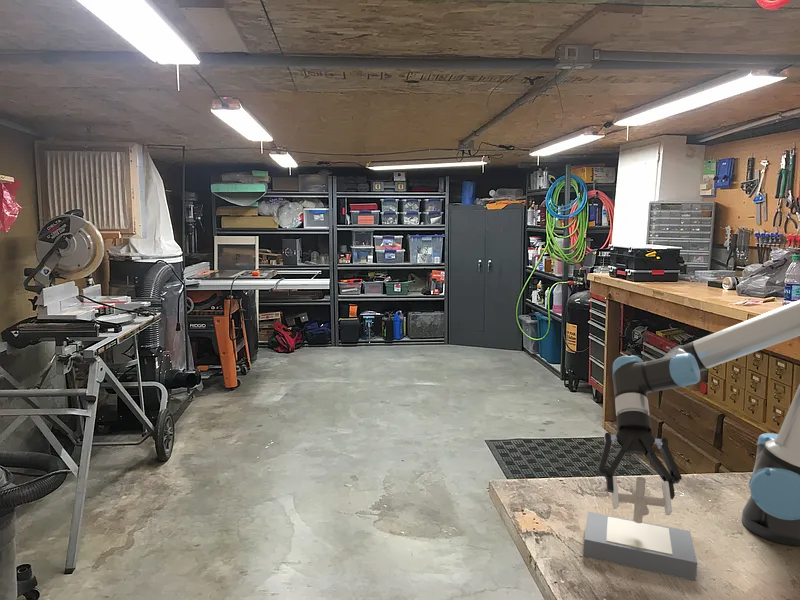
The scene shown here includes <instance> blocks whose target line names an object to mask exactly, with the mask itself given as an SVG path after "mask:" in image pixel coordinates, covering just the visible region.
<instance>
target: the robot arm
mask: <svg viewBox="0 0 800 600" xmlns="http://www.w3.org/2000/svg"><path fill="white" fill-rule="evenodd" d="M798 337H800V299H798V300H795V301H793V302H791V303H788V304H785V305H782V306H781V307H778V308H777V307H776V308H775V309H772V310H769V311H767V312H765V313H762V314H760V315H757V316H755V317H752V318H750V319H747V320H743V321H742V322H739V323H737V324H734V325H731V326H729V327H726V328H724V329H721V330H718V331H716V332H714V333H711V334H708V335H706V336H703V337H701V338H699V339H695V340H693V341H691V342H688V343H686V344H684V345H683V344H682V345H677V346H675V347H673V348H671V349H670V350H669V351H668V352H667V353H666V354H665V355H664V356H663V357H660V358H657V359H651V360H648V361H643V359H642V358H641V357H639V356H636V355H630V356H629V355H622V356H619V357H617V358H616V359H615V360H614V361H613V363H612V375H611V376H612V383H613V392H614V404H615V405H614V407H615V415H616V418H615V419H616V430H617V431H616V434H611V433H610V432H605V433H604V436H603V444H604V445H603V451H602V454H601V457H600V461H599V465H598V469H597V475H598V476H602V477H604V478H605V480H606V481H605V482H606V492H607V493H611V495H612V496H611V498H612V510H618V508H619V507H620V502H619V501H618V493H619V490H618V489H619V488H618V477H617V475H614V474H615V473H616V471H617V468H618V467H619V466H620V464H621V462H622V460H623V459H624V457H625V456H626V454H628V455H638V456H644V458H645V459H646V460H648V461H649V463H650V464H651V466H652V467H653V469H654V470H655V471H656V473H657V474H658V476H659V477H660V478H661V480H662V481H663V482H662V484H661V489H662V490H661V491H662V498H664V500H665V506H664V507H663V508H664V514H665V516H670V515H671V514H672V513H673V508H672V507H673V506H672V500H673V499H674V498H675V496H676V494H675V486H674V484H679V483H680V482H681V480H682V478H683V477H682V475H681V472H680V470H679V468H678V466H677V463H676V462H675V459H674V457H673V454H672V453H671V450H670V448H669V440H668V438H667V437H662V438H655V436H654V435H653V431H652V430H653V429H652V422H651V417H650V408H649V397H648V393H655V392H658V391H665V390H672V389H675V388H676V389H677V388H681V387H683V388H685V387H688V386H692V385H695V384H698V383H699V382H700V381H701V372H702V371H706V370H708V369H710V368H714V367H716V366H719V365H722V364H725V363H727V362H730V361H734V360H735V359H739V358H741V357H744V356H747V355H750V354H753V353H755V352H758V351H761V350H764V349H766V348H770V347H773V346H776V345H778V344H781V343H783V342H787V341H789V340H792V339H795V338H798ZM757 438H758V439H757V442H756V446H757V448H756V454H755V455H756V457H755V461H754V466H753V471H752V474H751V477H750V478H749V483H748V484H749V486H748V487H749V489H750V497H749V498H748V500H747V502H746V503H745V505H744V507H743V509H742V512H741V522H742V524H743V526H744V527H746V528H747V529H748V530H749V531H751V532H752V533H753V534H756V535H757V536H759V537H762V538H764V539H766V540H769V541H772V542H775V543H779V544H783V545H786V546H787V545H788V546H796V547H800V383H799V384H798V387H797V389H796V392H795V394H794V397H793V399H792V401H791V403H790V406H789V408H788V410H787V412H786V416H785V418H784V420H783V422H782V424H781V427H780V429H779V432H778V433H770V432H768V433H762V434H759V436H758V437H757ZM615 441H616V442H617V443H618V445H619V446H620V449H619V452H618V453H617V456H615V458H614V460H613V461H612V463H611V465H610V467H609V469H606V466H607V462H608V457H609V454H610V450H611V446H612V445H613V444H614V442H615ZM653 445H656V447H657V449H658V450H659V451H660V455H661V457H662V459H663V461H664V463H665V465H664V464H663V462H662V461H661V459H660V458H659V457H658V455H657V453H656V452H655V449H654V448H653Z"/></svg>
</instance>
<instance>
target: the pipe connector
mask: <svg viewBox="0 0 800 600" xmlns="http://www.w3.org/2000/svg"><path fill="white" fill-rule="evenodd" d="M635 482H636V483H635V485H633V486H631V487H630V493H631V494H629V493H621V492H620V493H619V492H618V501H619V503H626V504H633V505H634V508H633V519H632V520H633V521H634V522H636V523H642V522H643V516H647V515H649V513H650V509H649V507H648V506H654V507H663V508H664V506H665V500H664V498H663V497H657V496H647V495H645V491H646V483H647V482H646V478H645V477H643V476H637V477H636V481H635Z"/></svg>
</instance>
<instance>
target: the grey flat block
mask: <svg viewBox="0 0 800 600" xmlns="http://www.w3.org/2000/svg"><path fill="white" fill-rule="evenodd" d="M584 532H585V533H584V537H583V538H584V541H583V555H582V556H583V557H585V558H590V559H595V560H599V561H603V562H609V563H612V564H618V565H620V566H621V565H622V566H625V567H626V566H627V567H631V568H634V569H635V568H636V569H640V570H645V571H648V572H649V571H650V572H654V573H658V574H663V575H667V576H672V577H677V578H682V579H685V580H690V581H694V582H695V581H696V580H697V568H698V561H697V557H696V552H695V546H694V542H693V541H694V540H693V539H692V533H691V530H686V529H683V528H682V529H680V528H677V527H671V526H665V525H662V524H661V525H660V524H656V523H649V522H645V521H642V523H636V522H634V521H633V519H628V518H624V517H620V516H619V517H618V516H614V515H609V514H605V513H604V514H603V513H598V512H593V511H587V516H586V524H585V531H584Z"/></svg>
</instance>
